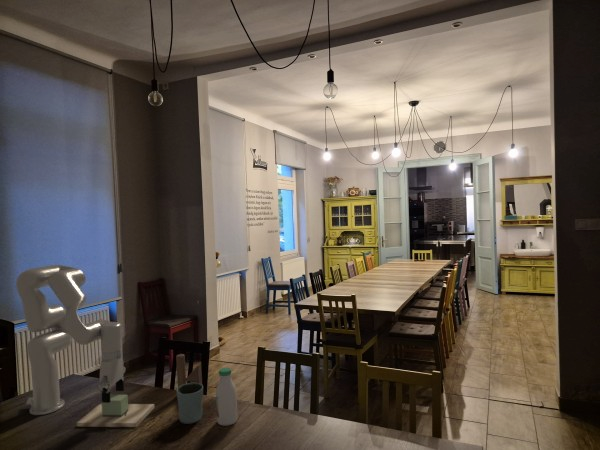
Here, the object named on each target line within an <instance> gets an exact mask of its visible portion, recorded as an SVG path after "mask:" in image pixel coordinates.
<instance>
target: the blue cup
mask: <svg viewBox="0 0 600 450" xmlns="http://www.w3.org/2000/svg"><path fill="white" fill-rule="evenodd" d="M176 389H177V392H176V398H177V404H178V406H177V407H178V417H179V421H180V423H182V424H185V425H186V424H195V423H197V422H199V421H201V419H202V418H203V403H204V402H203V398H204V385H203V383H202V384H200V383H191V382H186V384H183V385H181V386H179V387H178V386H177V388H176Z"/></svg>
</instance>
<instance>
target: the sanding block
mask: <svg viewBox="0 0 600 450" xmlns="http://www.w3.org/2000/svg"><path fill="white" fill-rule="evenodd" d="M128 395H129V394H110V402H109V403H103V402H102V401H101V404H102V417H122V416H123V415H124V414H125V413H126V412H127V411H128V404H129V397H128Z"/></svg>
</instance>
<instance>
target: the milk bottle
mask: <svg viewBox="0 0 600 450" xmlns="http://www.w3.org/2000/svg"><path fill="white" fill-rule="evenodd" d="M218 377H219V380H218V383H217V386H216V392H215V404H216V405H215V406H216V421H217V424H218V425H220V426H225V427H226V426H227V427H228V426H231V425H234V424H235V423H237V421H238V415H239V414H238V399H237V388H236V385H235V383H234V381H233V379H232V368H230V367H221V368H220V369H219V370H218Z"/></svg>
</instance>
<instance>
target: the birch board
mask: <svg viewBox="0 0 600 450" xmlns="http://www.w3.org/2000/svg"><path fill="white" fill-rule="evenodd" d="M154 409H155V404H154V403H128V411H127V412H126V413H125V414H124V415H123V416H122V417H102V403H100V404H98V405H96V406H95V407H94V408H93V409H91V410H90V411H89V412H88V413H86V415H84V416H83V417H82V418H81V419H79V420H78V421H76V427H88V428H89V427H93V428H94V427H96V428H97V427H98V428H99V427H101V428H104V427H105V428H108V427H109V428H137V427H138V426H139V425H140V423H142V422H143V421H144V420H145V418H146V417H147V416H148V415H150V413H151V412H152V411H153V410H154Z"/></svg>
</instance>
